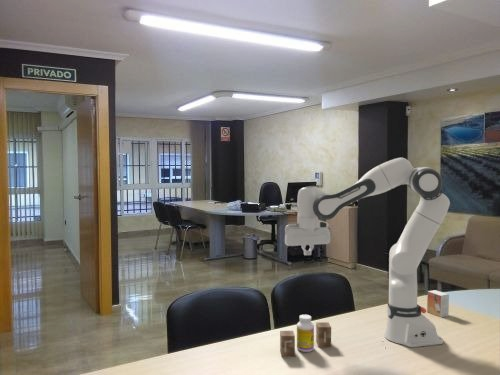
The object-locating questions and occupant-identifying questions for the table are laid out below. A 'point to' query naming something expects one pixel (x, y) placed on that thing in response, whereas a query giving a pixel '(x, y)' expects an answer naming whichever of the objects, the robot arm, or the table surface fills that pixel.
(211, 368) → the table surface
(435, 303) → the small box
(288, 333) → the walnut block seven
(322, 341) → the walnut block one
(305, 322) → the supplement bottle
